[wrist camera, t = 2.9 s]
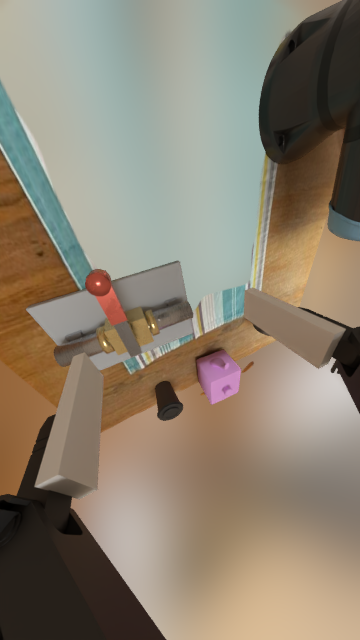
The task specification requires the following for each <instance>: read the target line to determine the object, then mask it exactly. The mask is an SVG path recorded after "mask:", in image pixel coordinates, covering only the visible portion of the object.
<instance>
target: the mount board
mask: <svg viewBox="0 0 360 640" xmlns="http://www.w3.org/2000/svg"><path fill="white" fill-rule="evenodd" d="M111 283H112V285H113V287H114V289H115V291H116V294H117V296H118V298H119V300H120V302H121V304H122V306H123V308H124V311H125V312H126V311H128V310H131V309H134V308H137V307H140V306H141V308H142V310H143V313H144V311H147V310H150V309H151V310H152V312H154V311H157V310H159V309H162V308H165V307H166V304H165V301H166V300H169V299H171V298H174V297H177V298H178V302H182V301H185V300H187V297H186V291H185V286H184V281H183V276H182V271H181V265H180V262H179V261H175V262H172V263H168V264H165V265H162V266H159V267H155V268H152V269H149V270H145V271H142V272H139V273H136V274H132V275H129V276H126V277H122V278H119V279H116V280H113V281H111ZM26 310H27V311H28V312H29V313H30V314H31V316H32V317H33V318H34V319H35V320H36V321H37V322H38V323H39V325H40V326H41V327H42V328H43V329H44V330H45V331H46V333H47V334H48V335H49V336H50V337H51V338H52V339H53V340H54V342H55V343H56V344H57V345H58V346H59V345H62V344H65V343H67V342H68V341H67V340H66V339H65V336H66V335H68V334H71V333H74V332H77V331H80V330H81V331H82V333H83V334H84V336H87V335H90V334H92V333H95V332H96V329H97V328H99V327H102V326H105V318H107V316H106V315H105V313H104V311H103V309H102V307H101V306H100V304H99V302H98V300H97V298H96V297H95V296H94V295H92V294H90V293H89V292H88V291H87V289H83V290H80V291H76V292H73V293H70V294H67V295H63V296H60V297H57V298H53V299H50V300H47V301H44V302H40V303H37V304H34V305H30V306H29V307H28V308H27V309H26ZM144 315H145V313H144ZM159 331H160V334H158V335H155V336H153V334H152V337H153V339H154V342H151V343H149V344H146V345H143V346H141V350H142V353H144V352H147V351H149V350H152V349H154V348H157V347H159V346H162V345H164V344H167V343H169V342H172V341H174V340H177V339H179V338H182V337H184V336H187V335H189V334H192V333H193V328H192V322H191V319H188V320H185V321H183V322H180V323H178V324H175V325H172V326H170V327H167V328H165V329H162V330H159ZM142 353H141V354H142ZM138 355H140V354H138ZM136 356H137V355H136ZM133 357H135V356H133ZM89 358H90V360H91V361H92V362H93V363H94V365H95V366H96V367H97V368H98V370H99V371H100V370H102V369H105V368H107V367H110V366H112V365H115V364H117V363H120V362H122V361H125V360H127V359H130V358H132V357H131V356H130V355H129V353H128V352H126V353H123V354H121V355H118V354H117V353H116V351H114V352H111V353H109V354H106V353H105V352H102V353H100V354H97V355H94V356H92V357H89Z"/></svg>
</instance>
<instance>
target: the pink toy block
mask: <svg viewBox="0 0 360 640" xmlns="http://www.w3.org/2000/svg"><path fill="white" fill-rule="evenodd" d="M196 361H197V370H198V379H199V383H200V385H201V387H202V388H203V390H204V392H205V394H206V395H207V398H208V400H209V401H210V403H211V404H214V403H216V402H218V401H221V400H223V399H225V398H227V397H229V396H231V395H233V394H236V393H238V390H239V382H240V373H241V369H240V368H239V366H238V365H237V364H236V363H235V362H234V361H233V360H232V358H231V357H230V356H229V355H228V354H227V353H226V352H225V351H224V349H223V350H221V351H218V352H215V353H213V354H210V355H208V356H205V357H203V358H199V359H197V360H196Z"/></svg>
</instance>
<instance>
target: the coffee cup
mask: <svg viewBox="0 0 360 640" xmlns="http://www.w3.org/2000/svg"><path fill="white" fill-rule="evenodd" d="M155 390H156V398H157V406H158V413H157V416H158V418H159V419H160V420H163V421H166V420H170V419H173V418H175V417H177V416H178V415H179V414H180V413H181V412H182V410H183V404H182V403H181V402H180V401H179V400H178V398H177V396H176V394H175V392H174V390H173V388H172V386H171V384H170V383H169V382H168V381H163V382H161V383H159V384H158V385H157V386H156V388H155Z"/></svg>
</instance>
